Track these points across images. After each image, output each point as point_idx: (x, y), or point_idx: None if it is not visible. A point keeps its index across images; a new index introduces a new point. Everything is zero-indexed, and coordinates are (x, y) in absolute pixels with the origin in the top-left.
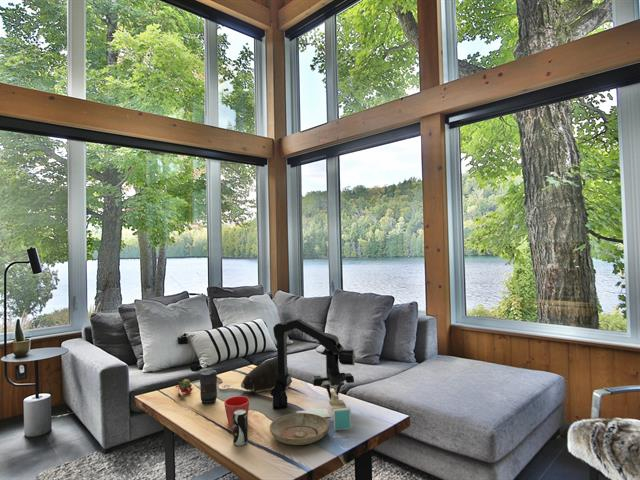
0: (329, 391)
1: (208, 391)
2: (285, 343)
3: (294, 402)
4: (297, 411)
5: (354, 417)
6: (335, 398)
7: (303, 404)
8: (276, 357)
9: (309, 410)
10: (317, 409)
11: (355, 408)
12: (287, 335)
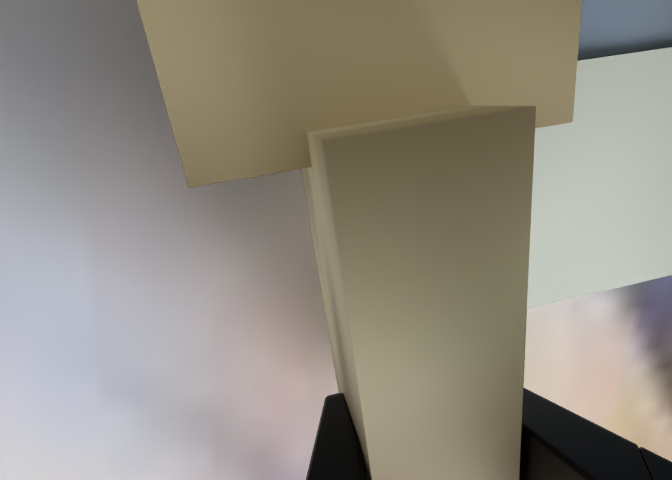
0: (625, 477)
1: None
2: None
3: (667, 449)
4: None
5: (19, 42)
6: (435, 122)
7: (612, 419)
8: None
9: (609, 278)
10: (527, 302)
11: (42, 359)
12: None
